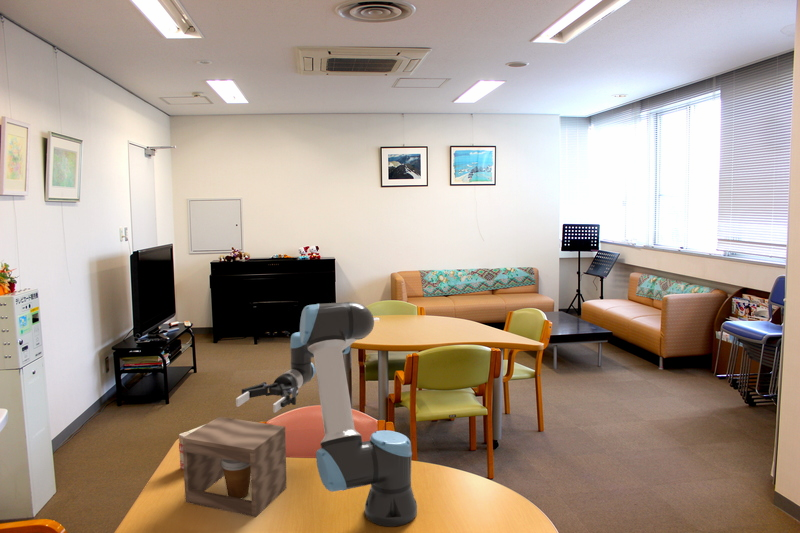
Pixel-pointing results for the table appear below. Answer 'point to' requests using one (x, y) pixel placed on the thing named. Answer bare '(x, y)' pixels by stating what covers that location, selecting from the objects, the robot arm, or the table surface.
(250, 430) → the walnut cubby
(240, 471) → the disposable coffee cup
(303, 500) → the table surface
